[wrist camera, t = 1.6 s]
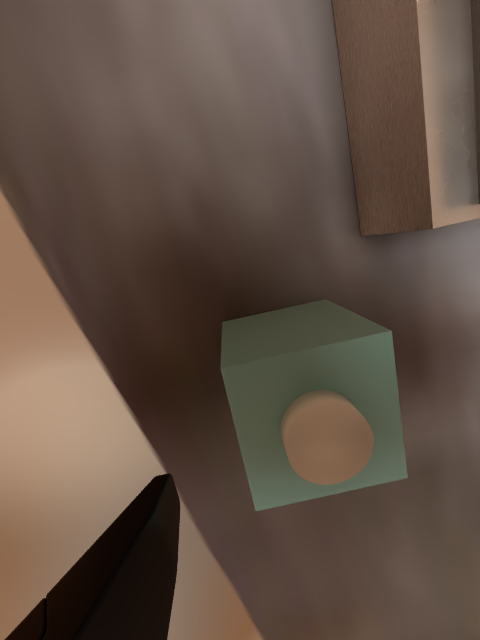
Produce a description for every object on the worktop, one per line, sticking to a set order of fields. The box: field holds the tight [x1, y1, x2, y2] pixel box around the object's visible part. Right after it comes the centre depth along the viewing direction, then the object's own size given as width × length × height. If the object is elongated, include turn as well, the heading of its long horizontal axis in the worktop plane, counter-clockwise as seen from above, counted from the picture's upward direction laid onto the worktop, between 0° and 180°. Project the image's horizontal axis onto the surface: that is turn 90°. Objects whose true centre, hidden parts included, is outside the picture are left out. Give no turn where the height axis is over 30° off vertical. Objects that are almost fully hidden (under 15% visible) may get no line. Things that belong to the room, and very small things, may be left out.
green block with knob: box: [220, 299, 408, 511], centre depth 12 cm, size 5×5×7 cm
